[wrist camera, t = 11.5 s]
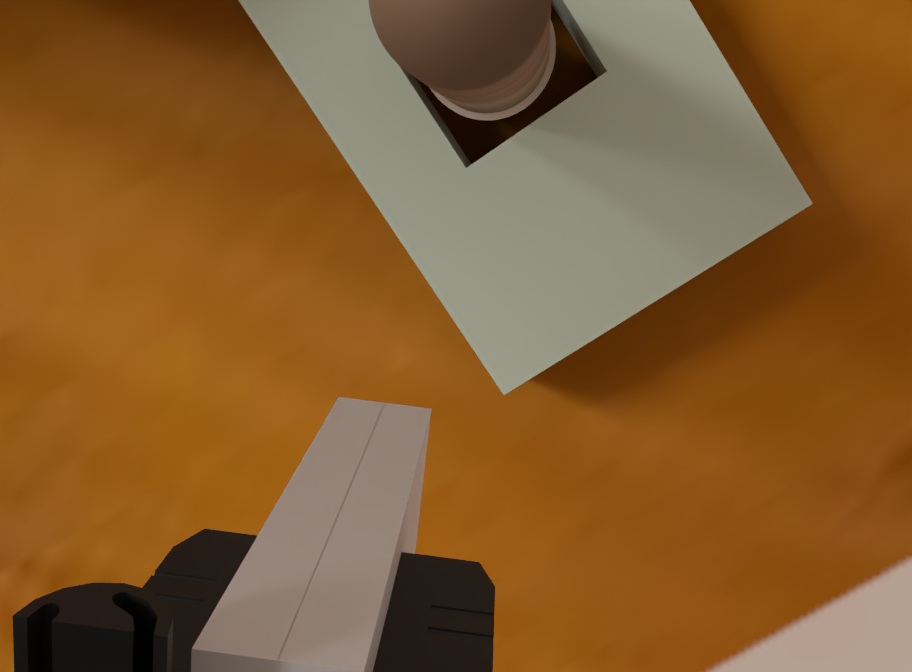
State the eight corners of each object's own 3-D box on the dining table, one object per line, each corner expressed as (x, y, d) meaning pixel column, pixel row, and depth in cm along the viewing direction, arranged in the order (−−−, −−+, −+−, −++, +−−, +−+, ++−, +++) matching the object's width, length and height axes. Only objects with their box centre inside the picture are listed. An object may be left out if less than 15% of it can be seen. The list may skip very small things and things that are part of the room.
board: (207, -77, 31) (166, -107, 28) (480, -297, 29) (472, -359, 26) (507, 371, 33) (503, 395, 30) (783, 199, 31) (813, 203, 28)
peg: (411, 47, 31) (320, -33, 19) (511, -26, 31) (487, -162, 18) (477, 149, 32) (432, 137, 19) (577, 79, 31) (600, 19, 18)
